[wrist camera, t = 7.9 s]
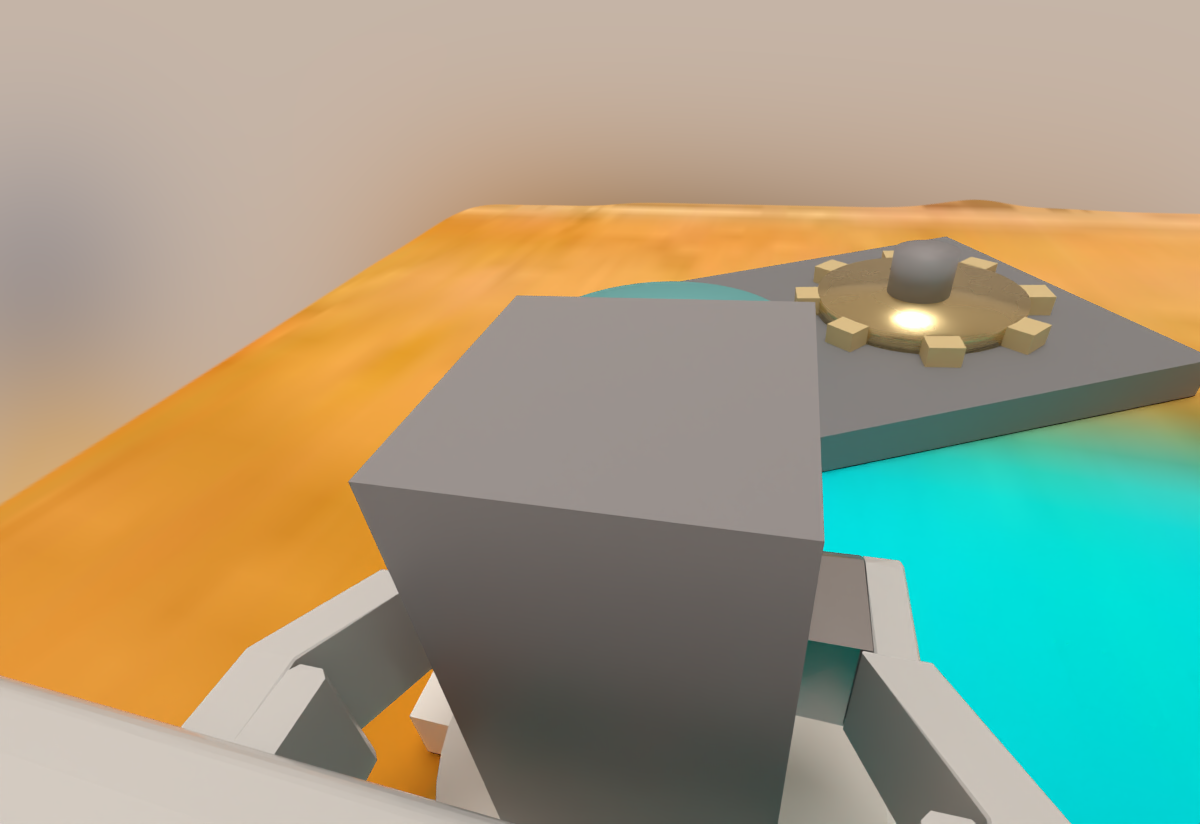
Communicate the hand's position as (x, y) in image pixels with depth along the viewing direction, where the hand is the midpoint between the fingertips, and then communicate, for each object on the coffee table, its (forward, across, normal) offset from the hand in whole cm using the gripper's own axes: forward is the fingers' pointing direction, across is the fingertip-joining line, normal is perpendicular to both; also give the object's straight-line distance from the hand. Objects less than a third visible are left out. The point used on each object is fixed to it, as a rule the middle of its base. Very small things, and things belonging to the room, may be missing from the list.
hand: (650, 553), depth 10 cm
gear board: (+17, -2, +6) cm, 18 cm away
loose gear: (-1, 0, +6) cm, 6 cm away
